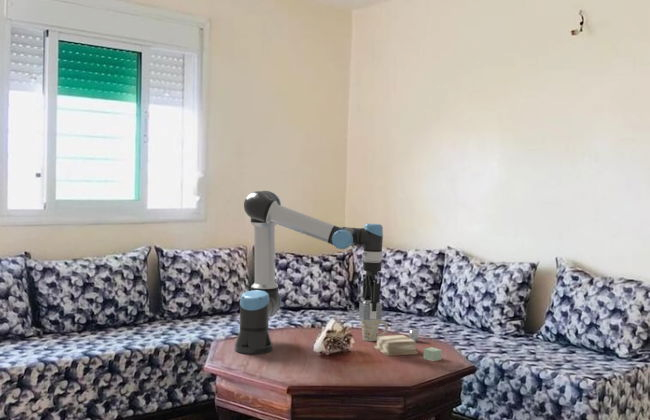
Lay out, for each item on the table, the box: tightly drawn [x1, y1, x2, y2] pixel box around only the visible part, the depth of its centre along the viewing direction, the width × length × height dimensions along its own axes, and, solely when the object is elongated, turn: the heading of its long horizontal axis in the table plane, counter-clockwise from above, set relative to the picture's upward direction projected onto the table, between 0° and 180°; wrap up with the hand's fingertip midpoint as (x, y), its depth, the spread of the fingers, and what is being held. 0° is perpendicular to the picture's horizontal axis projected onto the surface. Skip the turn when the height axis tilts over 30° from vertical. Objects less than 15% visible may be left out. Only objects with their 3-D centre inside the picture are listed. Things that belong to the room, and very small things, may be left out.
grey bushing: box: [408, 328, 420, 343], centre depth 293 cm, size 4×4×5 cm
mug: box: [360, 318, 389, 342], centre depth 294 cm, size 8×13×10 cm, turn 107°
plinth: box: [373, 334, 419, 357], centre depth 275 cm, size 14×14×5 cm
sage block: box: [423, 347, 442, 362], centre depth 264 cm, size 5×5×4 cm
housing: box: [358, 301, 383, 320], centre depth 273 cm, size 5×8×7 cm, turn 109°
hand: (370, 317), depth 273 cm, fingers closed on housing, 5 cm apart
